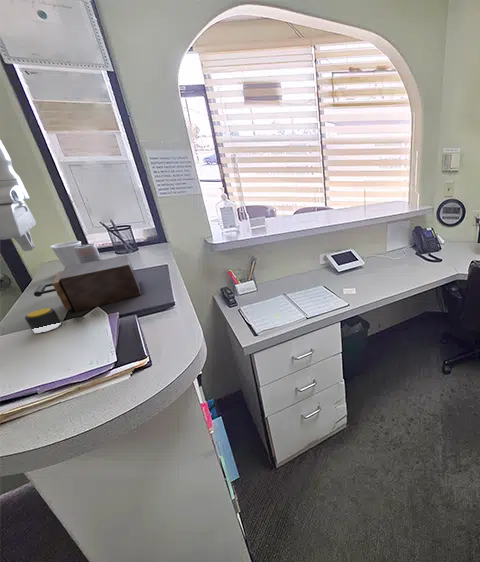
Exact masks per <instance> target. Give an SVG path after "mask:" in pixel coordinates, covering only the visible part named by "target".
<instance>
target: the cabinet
mask: <svg viewBox="0 0 480 562" xmlns="http://www.w3.org/2000/svg"><path fill="white" fill-rule="evenodd" d="M62 271H63V273H62V275H61V277H60V281H61V283H62V285H63V287H64V289H65V291H66V293H67V295H68V297H69V299H70V301H71V303H72V305H73V307H72V308H73V309H74V312H76V313H77V312H82V311H85V310H88V309H93V308H96V307H101V306H105V305H107V304H112V303H116V302H120V301H123V300H128V299H131V298H136V297H139V296H141V295H142V293H141V288H140V282H139V280H138V277H137V274H136V272H135V270H134V267H133V265H132V263H131V260H130V257H129V255H128V254H126V255H119V256H115V257H108V258H104V259H102V260H98V261H93V262H88V263H83V264H78V265H73V266H67V267H64V268H63V270H62Z"/></svg>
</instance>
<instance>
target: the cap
mask: <svg viewBox="0 0 480 562" xmlns="http://www.w3.org/2000/svg"><path fill="white" fill-rule="evenodd" d="M24 319H25V321H26V323H27V324H28V326H29V328H30V330H32V329H34V328H39V327H43V326H47V325H51V324H56V323H60V322H61V320H60V318H59V316H58V314H57V313H56V311H55V309H54V308H49V307H46V308H39V309H36V310H33V311H31V312H29V313H28V314H27V315H25V316H24Z"/></svg>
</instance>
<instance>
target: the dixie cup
mask: <svg viewBox="0 0 480 562" xmlns="http://www.w3.org/2000/svg"><path fill="white" fill-rule="evenodd" d="M80 245H82V241H80V240H71V241H70V240H69V241H64V242H60V243H55V244H53V245H51V246H50V247H49V248H50V249H51V250H52V251H53V252H54V254H55V256H56V257H57V259H58V260H59V261H60V263H61V264H62V265H63V267H64V268H65V267H67V266H73V265H78V264H81V263H80V261H79V259H78V257H77V255H76V252H75V247H76V246H80Z"/></svg>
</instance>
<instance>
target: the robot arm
mask: <svg viewBox="0 0 480 562" xmlns="http://www.w3.org/2000/svg"><path fill="white" fill-rule="evenodd" d="M29 199H31V198H30V195H29V193H28V191H27V189H26V187H25V185H24V183H23V181H22V178H21V177H20V175H19V174H18V173H17V172H16V171H15V169H14V167H13V163H12V158H11V156H10V154H9V153H8V150H7V149H6V147H5V145H4V144H3V141H2V139H0V240H1V241H5V240H12V239H14V241H15V242H16V243H17V244H18V245H19V247H20V248H21V250H22V251H23V252H31V251H33V250H34V248H35V244H34V242H33V238H32V234H31V232H30V230H32V229H33V228H34V227H36V226H37V222H36V219H35V217H34V215H33V213H32V212H31V210H30V208H29V206H28V205H27V203H26V201H25V200H29Z"/></svg>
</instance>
